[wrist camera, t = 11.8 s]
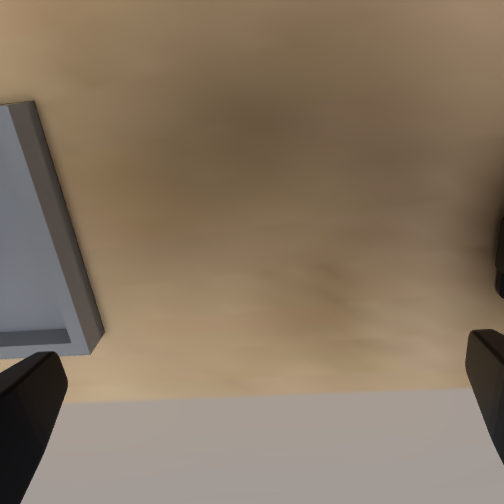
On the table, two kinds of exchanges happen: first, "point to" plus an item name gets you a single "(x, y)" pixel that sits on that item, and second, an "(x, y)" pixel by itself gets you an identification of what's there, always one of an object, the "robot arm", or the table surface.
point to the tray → (38, 250)
